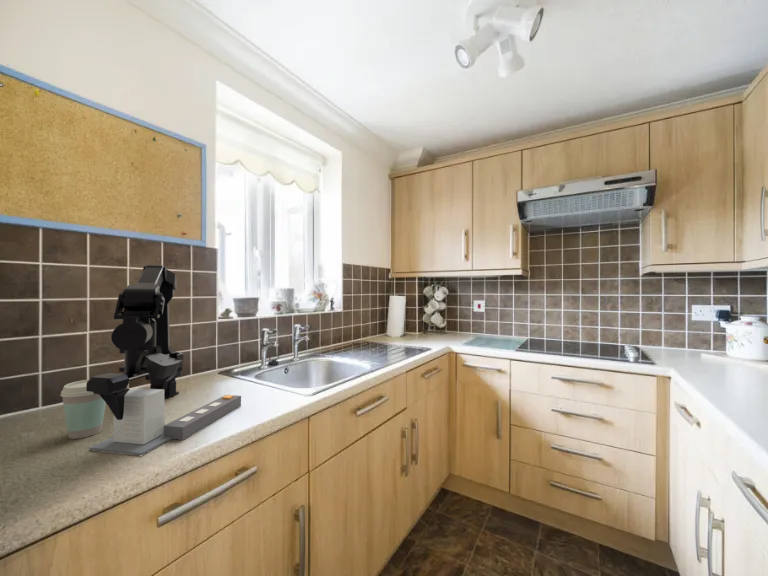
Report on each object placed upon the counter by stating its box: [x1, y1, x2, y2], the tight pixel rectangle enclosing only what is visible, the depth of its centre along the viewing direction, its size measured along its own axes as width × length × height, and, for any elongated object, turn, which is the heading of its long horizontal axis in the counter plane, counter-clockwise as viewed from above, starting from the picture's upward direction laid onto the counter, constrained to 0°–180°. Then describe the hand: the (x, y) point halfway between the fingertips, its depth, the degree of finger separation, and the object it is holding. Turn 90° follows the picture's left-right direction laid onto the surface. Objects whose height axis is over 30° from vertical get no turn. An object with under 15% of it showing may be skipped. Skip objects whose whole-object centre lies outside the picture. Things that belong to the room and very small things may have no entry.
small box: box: [112, 387, 166, 445], centre depth 72 cm, size 8×6×10 cm
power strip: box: [164, 394, 242, 441], centre depth 84 cm, size 5×22×4 cm, turn 171°
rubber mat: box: [88, 434, 172, 456], centre depth 72 cm, size 13×11×1 cm
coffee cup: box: [60, 379, 107, 440], centre depth 76 cm, size 8×8×12 cm
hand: (139, 411), depth 72 cm, fingers open, 9 cm apart
